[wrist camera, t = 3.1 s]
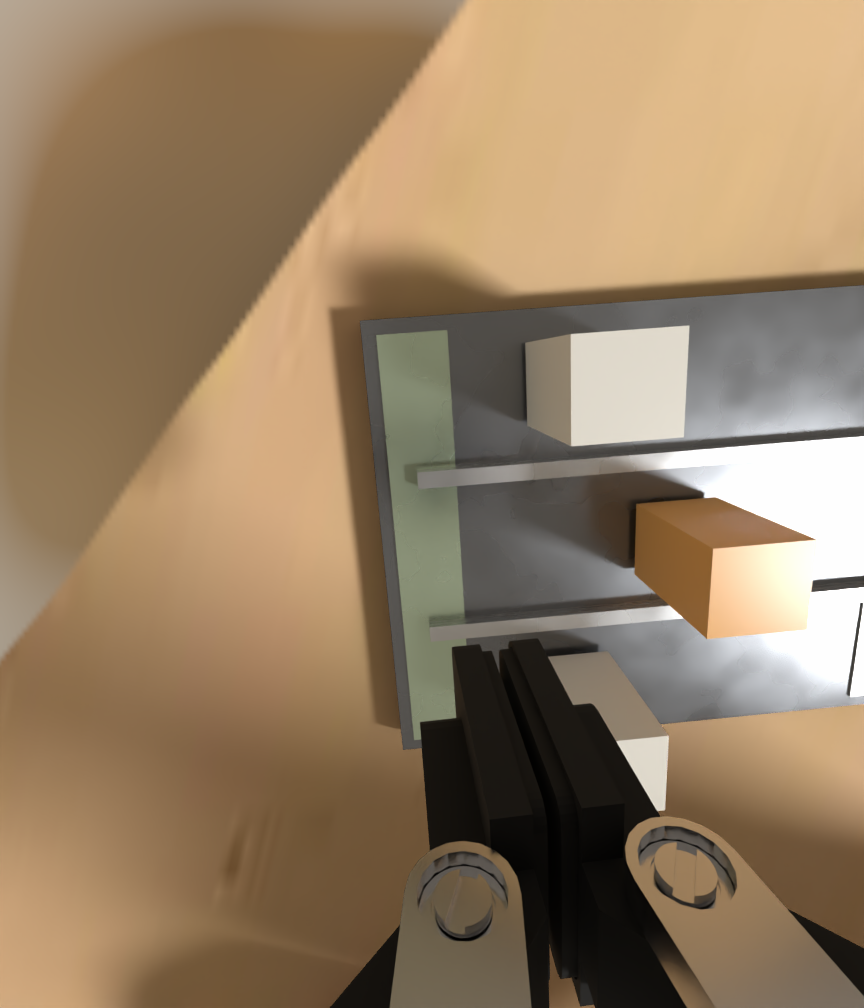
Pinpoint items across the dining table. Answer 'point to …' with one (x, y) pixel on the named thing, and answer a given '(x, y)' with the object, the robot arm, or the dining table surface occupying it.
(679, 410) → the block
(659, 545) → the block
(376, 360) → the panel
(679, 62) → the dining table surface
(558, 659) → the block
